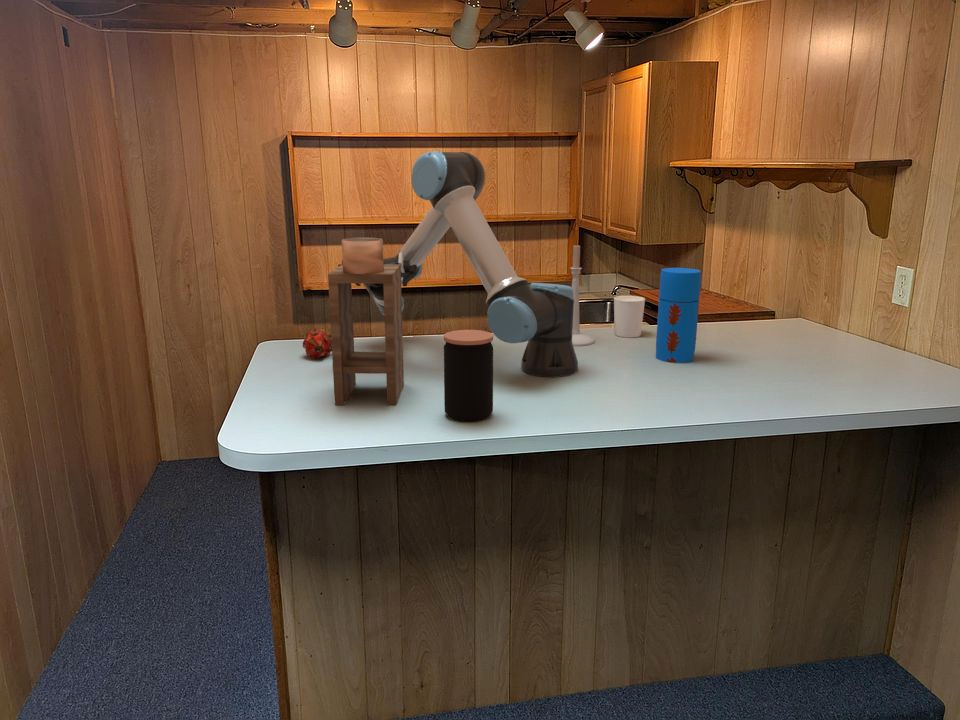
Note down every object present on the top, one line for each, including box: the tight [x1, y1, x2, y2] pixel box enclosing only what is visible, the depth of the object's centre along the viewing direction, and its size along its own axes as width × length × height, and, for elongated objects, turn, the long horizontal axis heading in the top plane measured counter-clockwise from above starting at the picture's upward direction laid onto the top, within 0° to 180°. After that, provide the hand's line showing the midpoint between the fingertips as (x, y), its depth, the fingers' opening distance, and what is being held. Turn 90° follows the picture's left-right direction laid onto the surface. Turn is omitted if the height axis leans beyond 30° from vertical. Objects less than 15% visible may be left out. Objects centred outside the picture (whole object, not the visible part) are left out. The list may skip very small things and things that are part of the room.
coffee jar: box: [443, 329, 494, 423], centre depth 156 cm, size 11×11×18 cm
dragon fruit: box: [302, 328, 332, 360], centre depth 206 cm, size 8×8×12 cm
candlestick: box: [569, 245, 595, 347], centre depth 221 cm, size 13×13×30 cm
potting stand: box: [327, 263, 405, 406], centre depth 169 cm, size 16×14×30 cm
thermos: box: [655, 267, 702, 364], centre depth 202 cm, size 11×11×25 cm
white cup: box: [613, 295, 646, 339], centre depth 232 cm, size 10×10×12 cm
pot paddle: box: [341, 237, 384, 274], centre depth 169 cm, size 26×9×7 cm, turn 0°
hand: (372, 257), depth 178 cm, fingers open, 13 cm apart
